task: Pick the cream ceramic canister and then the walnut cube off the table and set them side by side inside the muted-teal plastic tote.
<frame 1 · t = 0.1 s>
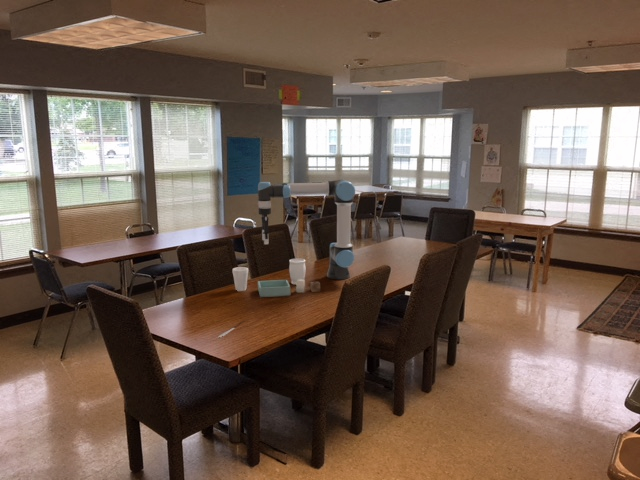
hand: (265, 242, 311), 28 cm above the table, fingers open, 13 cm apart
jar: (297, 283, 324), on the table
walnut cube: (315, 290, 307), on the table
foam cup: (241, 290, 309), on the table
ceramic canister: (300, 291, 305), on the table
tote: (274, 292, 303), on the table
butter knife: (233, 328, 246), on the table
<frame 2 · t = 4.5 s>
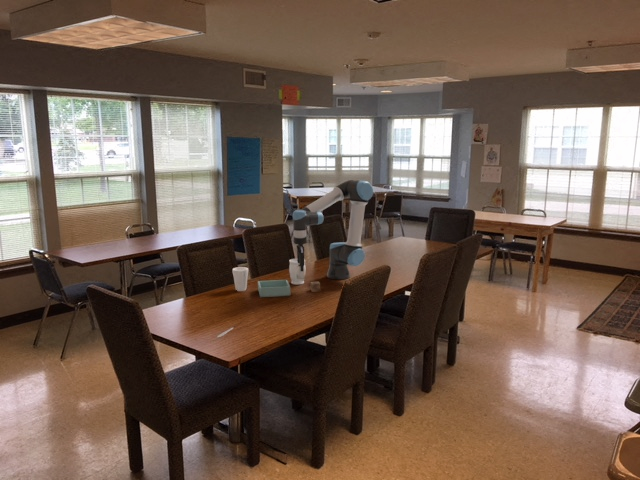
hand: (301, 274, 304), 10 cm above the table, fingers closed on ceramic canister, 5 cm apart
ceramic canister: (300, 278, 304), point 8 cm above the table, touching gripper
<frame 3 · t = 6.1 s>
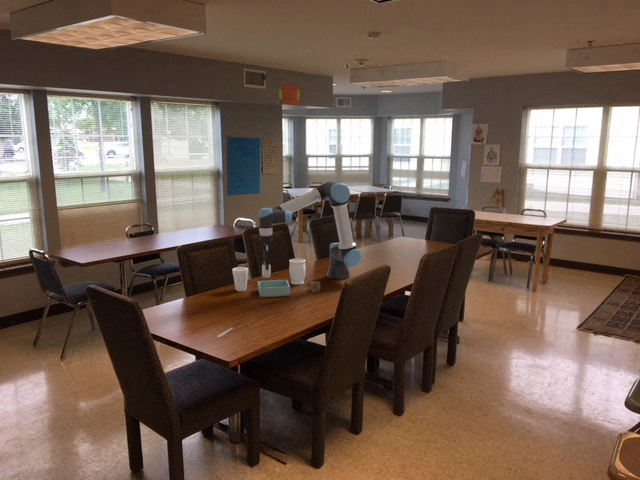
hand: (266, 273, 300), 12 cm above the table, fingers closed on ceramic canister, 5 cm apart
ceramic canister: (266, 276, 300), point 10 cm above the table, touching gripper
everything else where it was.
when the fingers open (1 cm above the table, at t = 8.3 s): ceramic canister stays where it is, resting on tote.
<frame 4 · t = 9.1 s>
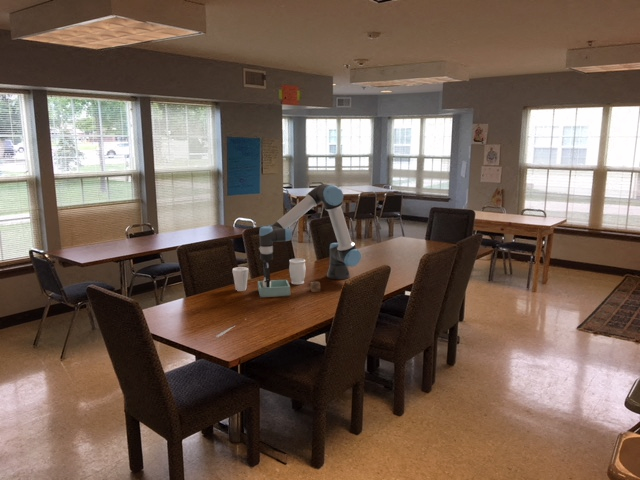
hand: (267, 290, 302), 2 cm above the table, fingers open, 9 cm apart
ceramic canister: (267, 292, 302), point 1 cm above the table, touching tote
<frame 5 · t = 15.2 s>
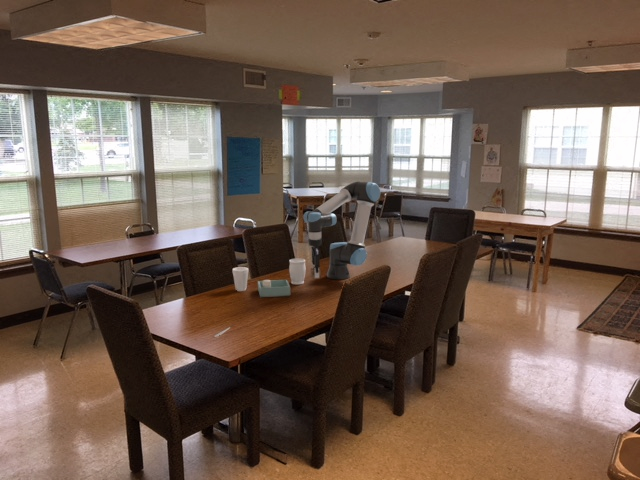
hand: (316, 276, 306), 9 cm above the table, fingers closed on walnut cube, 5 cm apart
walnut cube: (315, 277, 306), point 8 cm above the table, touching gripper
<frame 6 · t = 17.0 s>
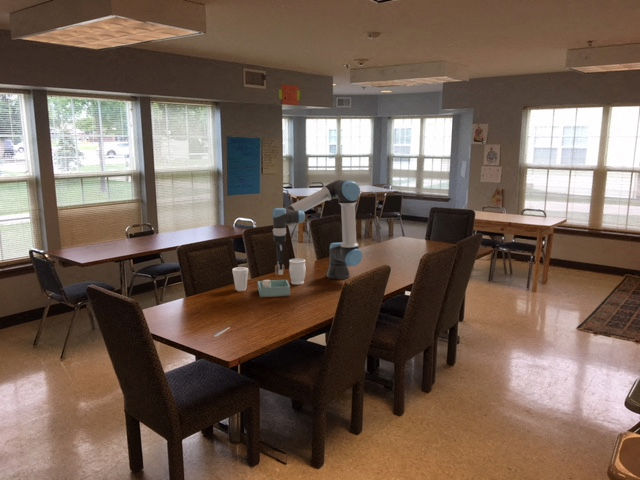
hand: (280, 273, 301), 12 cm above the table, fingers closed on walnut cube, 5 cm apart
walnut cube: (279, 274, 301), point 11 cm above the table, touching gripper
when the fingers open (1 cm above the table, at t = 19.2 s): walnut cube stays where it is, resting on tote.
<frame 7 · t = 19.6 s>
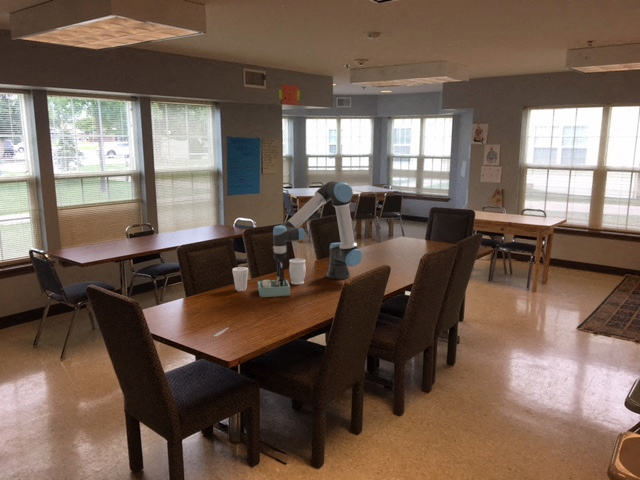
hand: (280, 289, 303), 2 cm above the table, fingers open, 9 cm apart
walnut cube: (280, 291, 303), point 1 cm above the table, touching tote
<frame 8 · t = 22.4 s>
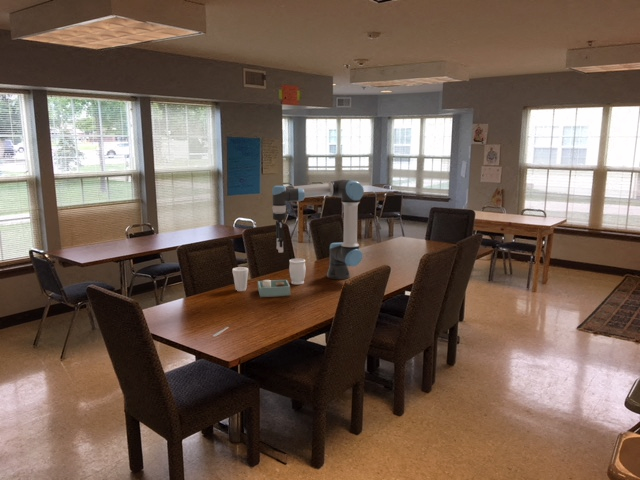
hand: (279, 250, 299), 25 cm above the table, fingers open, 9 cm apart
at the end: ceramic canister inside the target area on the tote (4.1 cm from its centre), point 0.6 cm above the tote's base; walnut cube inside the target area on the tote (3.8 cm from its centre), point 0.6 cm above the tote's base; the gripper is holding nothing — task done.
